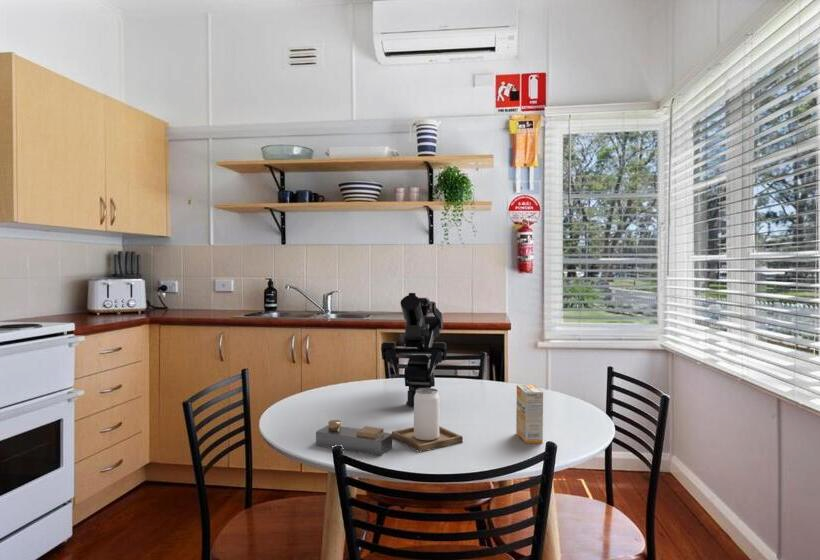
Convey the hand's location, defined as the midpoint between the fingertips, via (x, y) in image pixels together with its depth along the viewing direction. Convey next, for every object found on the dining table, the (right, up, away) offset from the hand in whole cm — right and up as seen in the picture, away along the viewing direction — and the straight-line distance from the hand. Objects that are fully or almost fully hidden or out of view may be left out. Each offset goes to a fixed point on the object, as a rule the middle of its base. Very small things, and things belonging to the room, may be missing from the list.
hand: (413, 375), depth 148 cm
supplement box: (+30, -14, -11) cm, 35 cm away
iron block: (-15, -14, -18) cm, 27 cm away
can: (+3, -14, -13) cm, 19 cm away
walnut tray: (+3, -14, -13) cm, 19 cm away
